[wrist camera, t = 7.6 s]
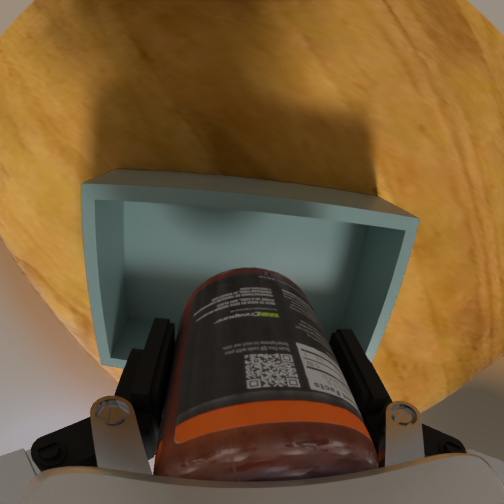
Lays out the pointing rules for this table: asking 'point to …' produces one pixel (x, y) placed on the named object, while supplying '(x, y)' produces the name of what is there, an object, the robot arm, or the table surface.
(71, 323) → the table surface
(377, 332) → the box
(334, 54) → the table surface
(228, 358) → the supplement bottle
